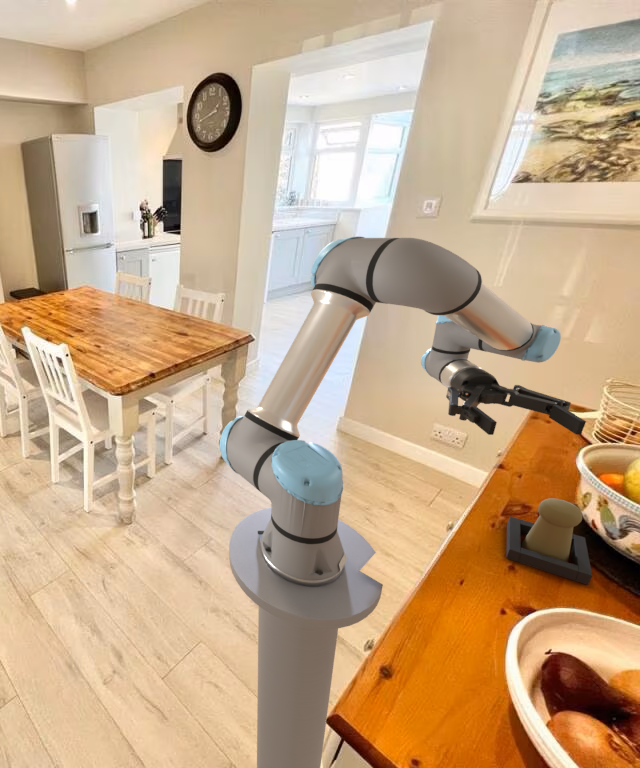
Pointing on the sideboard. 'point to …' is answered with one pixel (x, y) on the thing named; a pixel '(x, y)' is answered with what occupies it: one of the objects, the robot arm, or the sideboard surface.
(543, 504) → the cork
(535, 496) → the sideboard surface
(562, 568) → the dock pad
